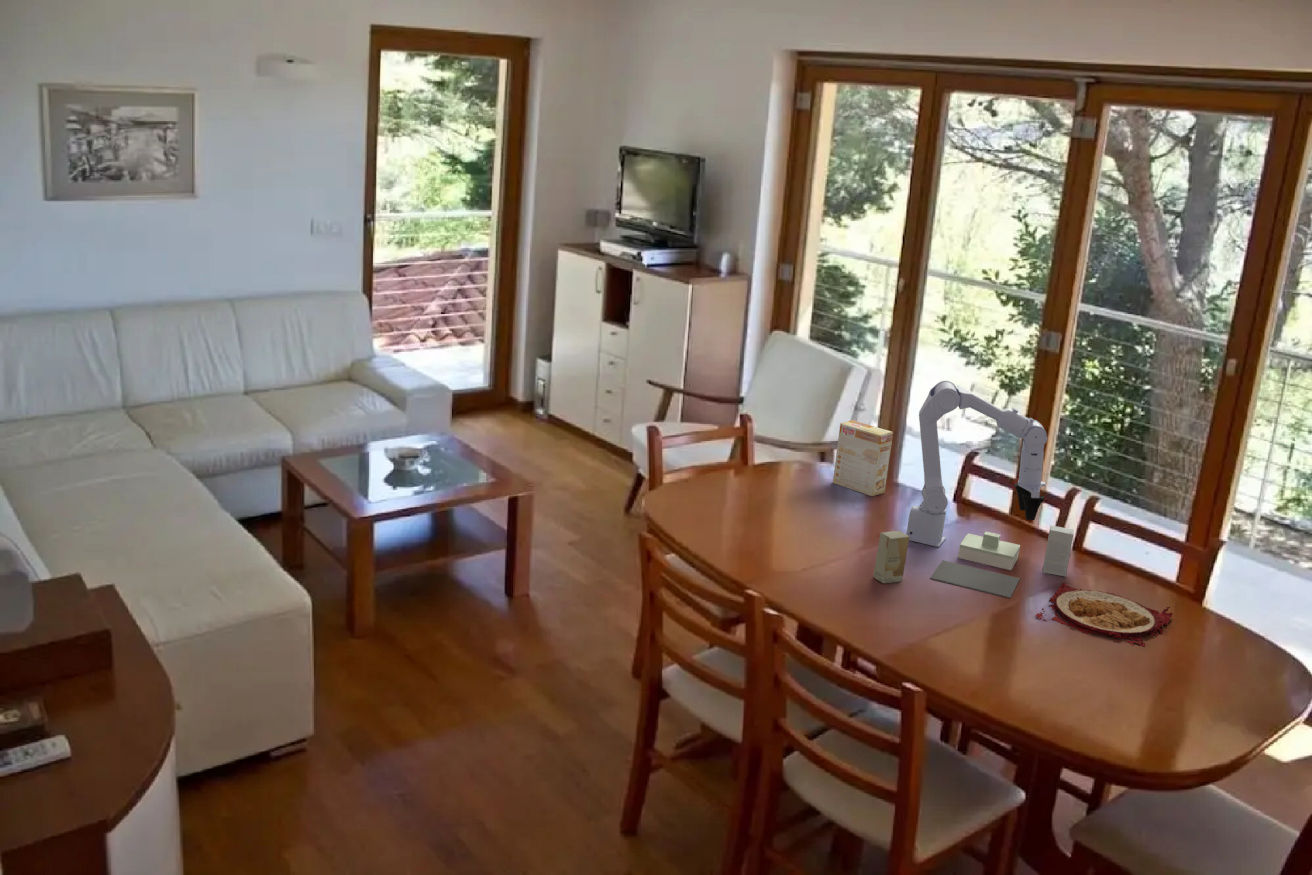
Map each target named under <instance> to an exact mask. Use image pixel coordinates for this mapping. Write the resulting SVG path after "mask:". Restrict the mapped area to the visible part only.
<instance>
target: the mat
mask: <svg viewBox="0 0 1312 875" xmlns="http://www.w3.org/2000/svg"><path fill="white" fill-rule="evenodd" d="M929 579H930V580H934V581H936V582H937V581H938V582H941V583H942V582H943V583H946V584H950V585H954V586H959V587H962V588H967V589H970V590H975V591H979V592H982V593H987V594H991V595H994V596H998V597H1003V598H1007V599H1011V598H1012V596H1013V594H1014V591H1015V590H1016V588H1017V586H1018V584H1019V583H1020V579H1021V578H1020V577H1015V576H1011V575H1006V574H1003V573H999V572H995V571H990V570H985V569H981V568H979V567H978V568H977V567H973V566H969V565H964V564H960V563H956V562H952V561H948V560H943V559H942V561H941V562H940V564H938V566H937V567H936V569H934V571H933V573H932V574H931V575H930V577H929Z"/></svg>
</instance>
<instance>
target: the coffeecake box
mask: <svg viewBox="0 0 1312 875" xmlns="http://www.w3.org/2000/svg"><path fill="white" fill-rule="evenodd" d="M839 424H840V425H839V430H838V431H839V432H838V438H837V440H838V441H837V446H836V453H835V454H836V455H835V462H834V463H835V464H834V470H833V477H832V484H835V485H837V486H840V487H843V488H847V489H848V490H849V489H850V490H852V491H856V492H858V493H860V494H864V495H866V496H870V497H875V496H877V495H882V494H884V493H885V491H886V485H887V478H888V471H889V470H888V469H889V462H890V456H891V450H892V442H893V434H894V431H891V430H887V429H884V428H880V427H877V426H874V425H870V424H867V423H864V422H860V421H856V420H854V419H851V420H848V421H845V422H840V423H839Z"/></svg>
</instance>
